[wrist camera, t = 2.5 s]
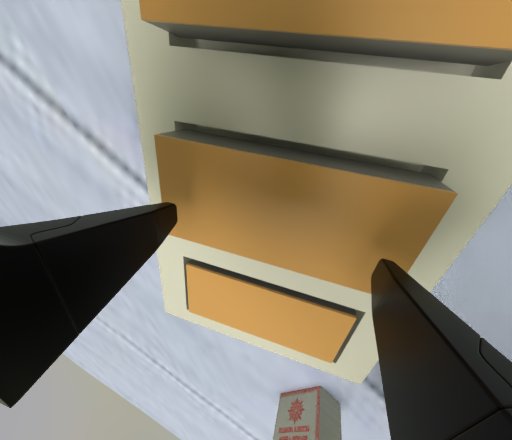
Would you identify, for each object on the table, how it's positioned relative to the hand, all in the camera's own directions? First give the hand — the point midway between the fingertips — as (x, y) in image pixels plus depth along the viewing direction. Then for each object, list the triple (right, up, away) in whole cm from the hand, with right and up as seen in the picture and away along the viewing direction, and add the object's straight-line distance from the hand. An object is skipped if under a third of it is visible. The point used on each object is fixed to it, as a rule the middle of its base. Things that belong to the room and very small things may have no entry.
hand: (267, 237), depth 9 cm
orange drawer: (+1, +2, +4) cm, 4 cm away
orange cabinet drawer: (+1, -6, +10) cm, 12 cm away
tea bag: (+6, -22, +19) cm, 30 cm away
